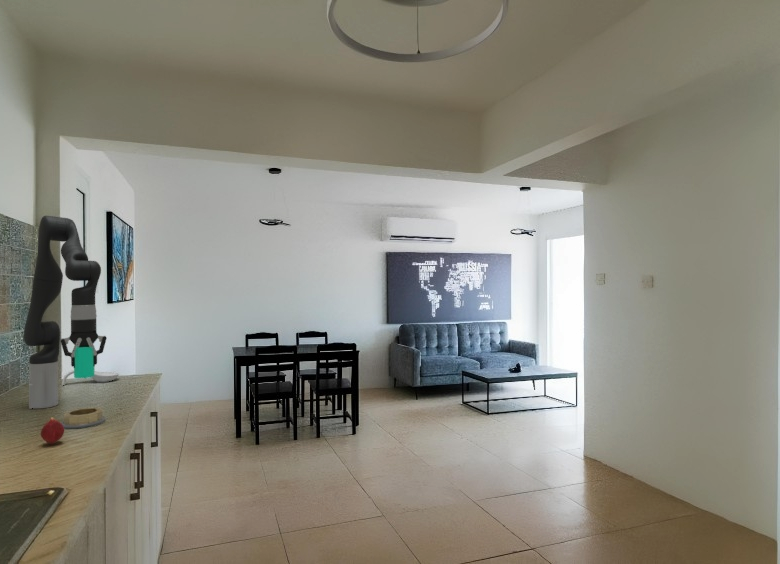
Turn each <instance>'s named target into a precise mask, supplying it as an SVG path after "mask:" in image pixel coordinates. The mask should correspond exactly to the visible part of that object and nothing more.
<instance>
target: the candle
mask: <svg viewBox="0 0 780 564" xmlns="http://www.w3.org/2000/svg"><path fill="white" fill-rule="evenodd" d="M93 356H94V355H93V347H76V350H75V368H74V367H73V370H74V373H73V378H74V379H86V378H91V377H93V376H95V375H94V371H95V366H93Z"/></svg>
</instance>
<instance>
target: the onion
mask: <svg viewBox="0 0 780 564" xmlns="http://www.w3.org/2000/svg"><path fill="white" fill-rule="evenodd" d="M61 423H62V422H60V421H58V420H56V419H55V418H54V417H52V416H51V418H50V419H49V421H48V422H47V423H45V424H44V425H43V427H42V429H40V437H41V439H43V441H45V442H46V443H48V444H50V445H54V444H56V442H58V441H59V440H61V438H62V437H63V436H64V432H65V429H64V427H63V425H62V424H61Z"/></svg>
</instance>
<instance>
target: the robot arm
mask: <svg viewBox="0 0 780 564" xmlns="http://www.w3.org/2000/svg"><path fill="white" fill-rule="evenodd" d="M75 223H76V222H74V220H73V219H71V218H68V217H61V216H54V215H43V216H42V217H41V219H40V222H39V228H38V238H37V241H38V242H37V253H36V254H37V255H36V261H35V262H36V263H35V269H34V272H33V273H34V274H33V277H32V278H33V279H32V280H33V281H32V286H31V287H32V289H31V296H30V303H29V308H28V312H27V316H26V320H25V325H24V330H23V341H24V343H25V345H26V346H28V347H39V346H43V347H42V349H40V350H39V351H38V352H36V353H33V354H31V355H30V357H29V358H28V361H29V363H28V364H29V365H28V366H29V370H28V371H29V379H28V380H29V383H28V409H30V410H32V408H33V409H47V408H51V407H55V406H57V405H58V404H59V355H60V345H61V347H62V349H63V350H62V351H63V354H64V356H65V357H69V358H70V359H71V360H70V361H71V362H70V363H71V364H70V366H71V367H73V369H74V368H75V350H76V347H93V355H94V356H93V366H94V367H95V366H96V365H97V363H98V355H100V354H102V353H104V349H105V345H106V342H107V336H106V335H98V333H97V317H98V315H97V308H96V307H97V306H96V292H97V291H96V290H97V287H98V284H99V283H98V282H99V280H100V276H101V273H102V268H101V265H100V263H99V262H97V261H96V260H89V257H88V254H87V252H86V251H85V249H84V248H83V246H82V243H81V240H80V236H79V232H78V229H77V226H76V224H75ZM51 241H54V242H62V243H63V242H64V243H63V244H62V245H61V248H60V255H61V257H62V259H63V260H64V262H65V269H64V270H65V271H64V273H63V271H62V269H61V267H60V266H59V264H58V263H57V260H56V259H55V257H54V255H53V253H52V249H51ZM64 274H65V277H66V278H67V279H68V280H70V281H73V282H86V281H87V283H85V285H83V286H80V287H76V288H73V289H72V290H71V307H70V335H69V336H68V337H65V338H61V330H60V326H59V324H58V323H57V322H56V321H53V320H52V321H51V320H48V321H47V320H46V321H42V320H43V318H44V315H45V312H46V311H47V310H48V308H49V307H50V306H51V305H52V303H53V302H54V301H56V299H57V298H58V297H59V295H60V294H61V291H62V286H63V279H64V278H63V277H64ZM97 340H98V341H99V342H100V344H99V348H98V350H96V347H95V345H94V344H95V342H96V341H97ZM69 341H70V342H71V343H72V344H73V345H74V346H73V348H72V351H71V352H70V351H69V350H68V344H69ZM60 343H61V344H60Z"/></svg>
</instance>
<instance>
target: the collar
mask: <svg viewBox="0 0 780 564" xmlns="http://www.w3.org/2000/svg"><path fill="white" fill-rule="evenodd" d="M63 416H64V420H63V421H64V424H66V425H83V424H89V423H93V422H97V421H99V420H101V419H102V416H103V408H101V407H84V408H83V407H82V408H77V409H73V410H69V411H66V412H64V415H63Z"/></svg>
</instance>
